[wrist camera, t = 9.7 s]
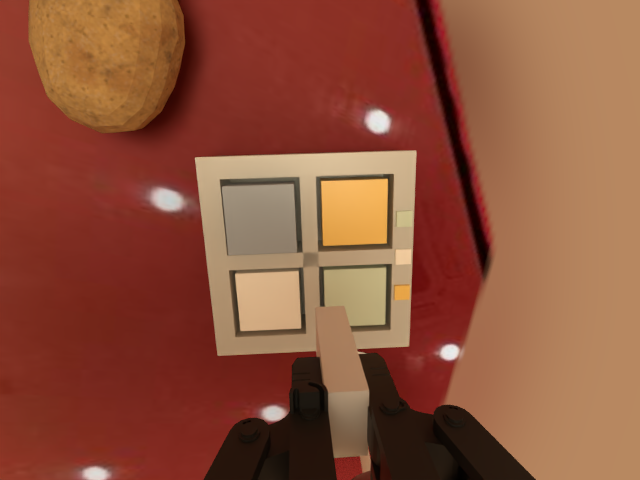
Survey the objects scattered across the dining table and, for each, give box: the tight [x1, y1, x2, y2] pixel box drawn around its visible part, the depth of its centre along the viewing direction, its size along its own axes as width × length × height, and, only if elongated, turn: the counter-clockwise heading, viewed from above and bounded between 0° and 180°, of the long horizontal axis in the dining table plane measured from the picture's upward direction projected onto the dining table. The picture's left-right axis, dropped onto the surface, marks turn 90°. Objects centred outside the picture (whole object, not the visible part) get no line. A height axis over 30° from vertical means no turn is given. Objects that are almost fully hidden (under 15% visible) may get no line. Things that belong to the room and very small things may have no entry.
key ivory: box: [235, 268, 302, 331], centre depth 30 cm, size 5×5×3 cm
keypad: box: [195, 150, 416, 356], centre depth 30 cm, size 16×16×6 cm
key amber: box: [320, 176, 388, 246], centre depth 28 cm, size 5×5×3 cm
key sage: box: [322, 264, 386, 326], centre depth 30 cm, size 5×5×3 cm
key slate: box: [222, 181, 298, 255], centre depth 27 cm, size 5×5×3 cm
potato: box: [29, 0, 185, 133], centre depth 24 cm, size 10×14×8 cm
